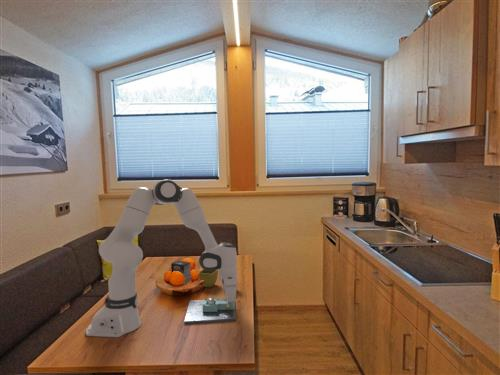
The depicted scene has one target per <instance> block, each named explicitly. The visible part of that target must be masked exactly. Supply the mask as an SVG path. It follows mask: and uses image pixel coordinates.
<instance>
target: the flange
mask: <svg viewBox="0 0 500 375" xmlns="http://www.w3.org/2000/svg"><path fill="white" fill-rule="evenodd" d="M219 299H220V298H214V304H212V305H208V298H206V299H204V300H205V301H204V303H203V312H218V310H227V303H229V309H230V310H234V302H228V301H219Z"/></svg>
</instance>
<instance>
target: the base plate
mask: <svg viewBox="0 0 500 375" xmlns="http://www.w3.org/2000/svg"><path fill="white" fill-rule="evenodd" d="M207 299H208V305H212V304H214V299H215V298H214V297H209V298H207ZM218 299H219V301H227V298H218ZM204 301H205V299H194V300H193V299H190V300H189V301H188V305H187V310H186V313H185V317H184V321H183V324H184V325H189V324H207V323H209V324H210V323H224V322H236V321H237V320H236V318H237V317H236V303H235V302H236V301H235V302H234V310H230V309H229V303H227V310H218V312H203V303H204Z"/></svg>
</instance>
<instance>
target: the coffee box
mask: <svg viewBox="0 0 500 375" xmlns="http://www.w3.org/2000/svg"><path fill="white" fill-rule="evenodd" d="M170 267H171V268H170V269H171V270H170V271H171V273H172V272H173V271H179V272H181V273H182V274H183V276H184V277H186V278H185V279H186V280H184V284H183V285H185V284H187V283H188V282H190V281H191V282H192V276H191V275H192V272H191V262H190V261H184V260H183V261H182V260H176V261H173V262H171V266H170Z"/></svg>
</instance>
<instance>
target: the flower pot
mask: <svg viewBox="0 0 500 375" xmlns="http://www.w3.org/2000/svg"><path fill="white" fill-rule="evenodd" d="M218 275H219V269H217V270H211V271H207V270H204V269H203V268H202V270H200V271H199V272H198V278H199V281H200V280H204V281H205V282H204V286H203V287H205V288H212V287H213V286H215V285H216V283H217V280H218V277H219V276H218Z"/></svg>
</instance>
